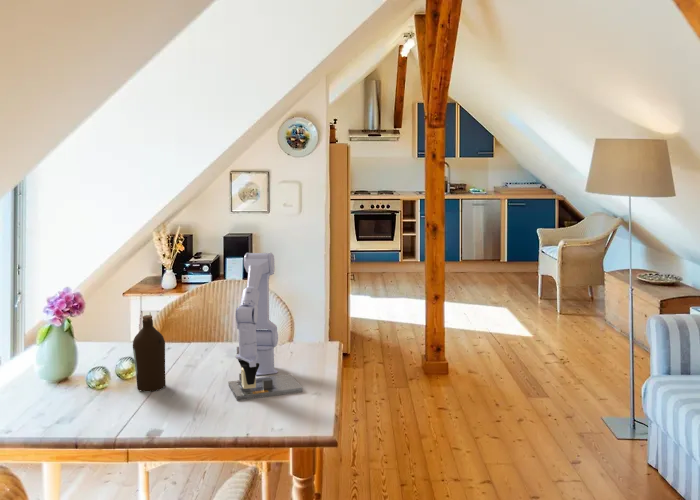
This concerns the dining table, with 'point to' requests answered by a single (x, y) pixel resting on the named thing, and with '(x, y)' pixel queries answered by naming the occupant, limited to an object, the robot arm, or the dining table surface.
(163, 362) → the olive oil
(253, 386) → the cap
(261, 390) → the panel
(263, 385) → the breaker tagged
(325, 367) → the dining table surface
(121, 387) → the dining table surface
